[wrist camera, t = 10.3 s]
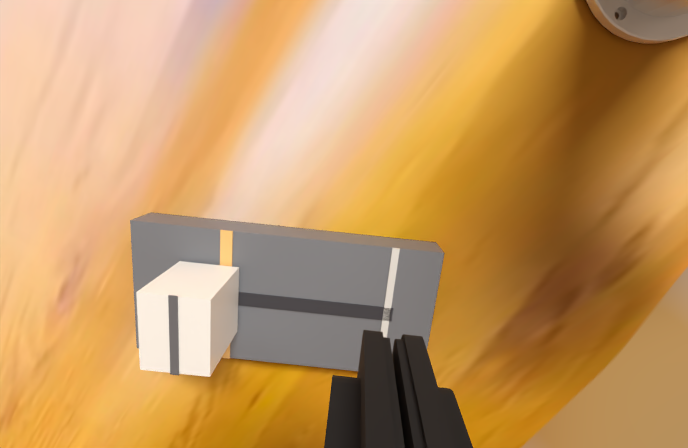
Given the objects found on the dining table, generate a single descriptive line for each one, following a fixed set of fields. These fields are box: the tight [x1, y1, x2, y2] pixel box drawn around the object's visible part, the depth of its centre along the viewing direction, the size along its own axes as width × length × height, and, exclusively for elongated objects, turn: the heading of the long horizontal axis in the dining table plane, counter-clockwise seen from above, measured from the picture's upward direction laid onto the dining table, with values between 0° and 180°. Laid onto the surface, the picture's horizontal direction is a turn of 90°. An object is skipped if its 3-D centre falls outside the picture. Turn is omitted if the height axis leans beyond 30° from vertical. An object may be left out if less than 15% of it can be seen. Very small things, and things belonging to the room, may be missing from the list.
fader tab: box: [136, 261, 239, 377], centre depth 27 cm, size 5×6×6 cm
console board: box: [130, 213, 444, 371], centre depth 31 cm, size 26×12×3 cm, turn 84°
